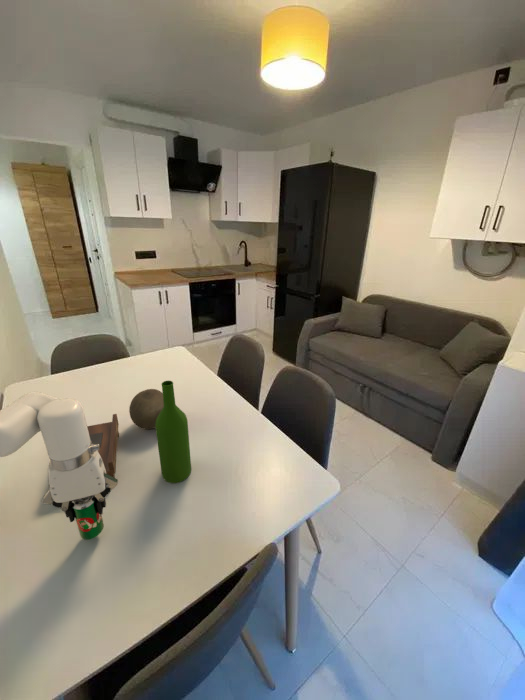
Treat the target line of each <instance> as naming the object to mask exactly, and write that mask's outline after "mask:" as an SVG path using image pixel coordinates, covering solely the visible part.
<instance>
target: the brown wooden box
mask: <svg viewBox="0 0 525 700" xmlns="http://www.w3.org/2000/svg"><path fill="white" fill-rule="evenodd" d="M111 419H112V420H111V421H109V422H103V423H98V424H91V425H87V427H88V432H89V436H90V440H91V441H92V443H93V444H95V445H97V444H99V445H100V450H98V452H99V454H100V456H101V458H102V461H103V464H104V467H105V470H106V474H108V475H110V476H112V477H114V478H116V475H115V474H116V465H117V454H118V453H117V451H118V438H119V437H120V431H119V425H120V424H119V418H118V414H117V413H113V414H112V418H111ZM106 484H107V483H105V485H106ZM48 487H49V489H50V485H49V484H48Z"/></svg>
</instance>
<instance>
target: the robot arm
mask: <svg viewBox="0 0 525 700" xmlns="http://www.w3.org/2000/svg"><path fill="white" fill-rule="evenodd" d="M87 426H88V423H87V419H86V414H85V410H84V406H83V405H82V403H81V402H80V401H78V400H77V399H75V398H60V397H56V396H53V395H50V394H48V393H44V392H41V391H40V392H39V391H30V392H27V393H24V394H23V395H22V396H20V397H19V398H17V399H15V400H14V401H12V402H11V403H10V404H7V405H6V406H5V407H2V409H0V458H4V457H5V458H6V457H8V456H11V455H13V454H14V453H15V452H17V451H18V450H19V449H20V448H22V447H23V446H24V445H25V444H26V443H28V442H29V441H30V440H31V439H32V438H33V437H35V435H37V434H38V433H39V432H40V433H41V436H42V439H43V442H44V445H45V449H46V452H47V456H48V458H49V461H48V469H47V471H48V473H47V474H48V486H49V485H50V488H49V489H48V490H47V491H46V493H44V495H43V497H42V500H41V503H42V504H46V505H52V506H53V507H56V508H58V509H60V510H61V511H62V512H64V513H65V517H66V518H68V519H69V522H70V523H73V522H75V521H76V519H75V516H74V512H73V509H72V501H73V500H75V499H79V498H83V497H87V496H91V495H94V496H95V497H96V498H97V502H96V504H97V509H98V513H99V514H101V515H103V514H104V513H103V511H104V508H106V507H107V501H106V497H107V496H108V495H109V494H110V493H111V491H112V490H114V489H115V487H117V486H118V484H119V479H118V478H117V477H115V478H114V477H112V476H110V475H108V474H106V470H105V467H104V464H103V461H102V458H101V456H100V454H99V452H98V450H100V445H99V444H97V445H95V444H93V443H92V441H91V440H90V436H89V432H88V427H87ZM105 483H107V484H106V485H105Z"/></svg>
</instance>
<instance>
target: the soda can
mask: <svg viewBox="0 0 525 700" xmlns="http://www.w3.org/2000/svg"><path fill="white" fill-rule="evenodd" d="M96 502H97V498H96V497H95V496H94V495H91V496H87V497H83V498H79V499H75V500H73V501H72V509H73V512H74V516H75V522H76V525H77V529H78V532H79V536H80V538H81V539H82V540H85V541H90V540H92V539H96V538H97V537H98V536H99V535H100V534H101V533H102V531H103V530H104V526H105V524H104V520H103V516H102V515H103V514H99V513H98V509H97V504H96Z"/></svg>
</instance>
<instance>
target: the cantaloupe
mask: <svg viewBox="0 0 525 700" xmlns="http://www.w3.org/2000/svg"><path fill="white" fill-rule="evenodd" d="M163 407H164V402H163V392H162V391H160V390H159V389H157V388H148V389H144V390H141V391H139V392H138V393H136V395H134V396H133V398H132V400H131V401H130V405H129V411H128V412H129V417H130V419H131V421H132V422H133V424H134V425H135V426H136V427H137V428H139V429H141V430H142V429H143V430H152V429H156V428H155V424H156V419H157V417H158V415H159V414H160V412H161V411H162V409H163Z"/></svg>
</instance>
